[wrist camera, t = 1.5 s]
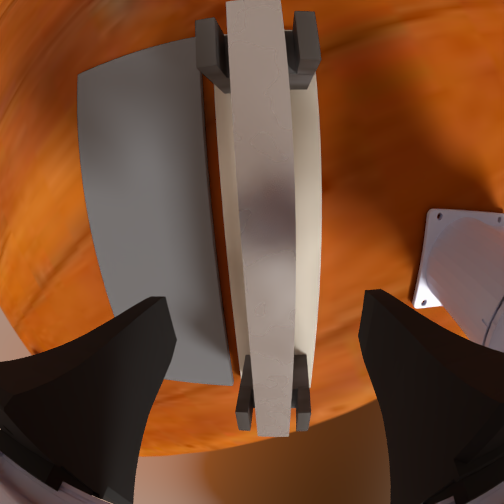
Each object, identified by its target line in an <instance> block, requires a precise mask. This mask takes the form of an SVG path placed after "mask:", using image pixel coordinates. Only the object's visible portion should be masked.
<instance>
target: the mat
mask: <svg viewBox="0 0 504 504" xmlns="http://www.w3.org/2000/svg"><path fill="white" fill-rule="evenodd" d="M77 119H78V139H79V153H80V163H81V172H82V180H83V188H84V194H85V201H86V207H87V212H88V218H89V223H90V228H91V233H92V238H93V242H94V246H95V251H96V255H97V259H98V263H99V267H100V270H101V274H102V278H103V281H104V285H105V288H106V292H107V295H108V298H109V301H110V304H111V307H112V310H113V313H114V316H115V317H116V316H118V315H119V314H121V313H123V312H124V311H126V310H127V309H129V308H131V307H132V306H134V305H136V304H137V303H139V302H141V301H143V300H144V299H146V298H149V297H151V296H163V297H166V300H167V304H168V308H169V312H170V316H171V320H172V324H173V327H174V331H175V334H176V338H177V342H176V346H175V350H174V353H173V357H172V360H171V363H170V365H169V368H168V370H167V372H166V375H165V377H164V379H168V380H175V381H184V382H192V383H202V384H214V385H228V386H233V382H234V380H233V373H232V367H231V360H230V354H229V347H228V340H227V333H226V326H225V319H224V311H223V304H222V296H221V288H220V280H219V271H218V263H217V254H216V245H215V236H214V226H213V216H212V206H211V195H210V184H209V172H208V160H207V147H206V133H205V118H204V101H203V81H202V73H201V72H200V71H199V70H198V69H197V68H196V40H195V37H192V38H187V39H182V40H178V41H173V42H169V43H165V44H161V45H158V46H154V47H151V48H147V49H144V50H140V51H137V52H134V53H131V54H128V55H125V56H122V57H120V58H117V59H114V60H111V61H109V62H106V63H104V64H101V65H99V66H96V67H94V68H92V69H89V70H87V71H85V72H83V73H80V74H78V82H77Z"/></svg>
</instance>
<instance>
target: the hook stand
mask: <svg viewBox="0 0 504 504" xmlns="http://www.w3.org/2000/svg"><path fill="white" fill-rule="evenodd" d="M284 33H285V42H286V52H287V63H288V74H289V86H290V99H291V114H292V131H293V150H294V175H295V211H296V302H295V339H294V363H293V382H292V399H291V408H296V431H308V427H309V421H310V416H311V405H310V390H309V388H310V386H311V378H312V369H313V360H314V350H315V340H316V329H317V316H318V302H319V286H320V265H321V232H322V175H321V142H320V122H319V107H318V93H317V82H316V70H317V68H318V66H319V64H320V61H321V53H320V45H319V37H318V30H317V24H316V17H315V12H310V11H295V12H294V22H293V30H284ZM195 40H196V68H197V69H198V70H199V71H200V72H201V73H202V74H204V75H205V76H206V77H207V78H208V79H209V80H210V81H211V82H212V83H213V84H214V95H215V112H216V128H217V143H218V157H219V170H220V183H221V195H222V206H223V218H224V229H225V240H226V250H227V260H228V270H229V280H230V289H231V298H232V307H233V316H234V325H235V333H236V342H237V350H238V358H239V366H240V374H241V383H240V389H239V395H238V400H237V406H236V411H235V413H236V418H237V423H238V428H239V430H247V431H250V428H251V421H252V413H253V408H255V401H254V390H253V379H252V368H251V356H250V345H249V333H248V322H247V310H246V298H245V285H244V273H243V260H242V247H241V234H240V221H239V207H238V193H237V179H236V165H235V150H234V135H233V119H232V103H231V87H230V70H229V52H228V34H225V35H224V34H223V32H222V30H221V28H220V27H219V25H218V23H217V21H216V19H215V18H214V17H213V18H207V19H201V20H196V21H195Z"/></svg>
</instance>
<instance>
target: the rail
mask: <svg viewBox="0 0 504 504" xmlns="http://www.w3.org/2000/svg"><path fill="white" fill-rule="evenodd" d="M226 14H227V33H228V52H229V70H230V87H231V103H232V119H233V135H234V150H235V165H236V179H237V193H238V207H239V221H240V234H241V247H242V260H243V273H244V285H245V298H246V310H247V322H248V333H249V345H250V356H251V368H252V379H253V390H254V401H255V411H256V422H257V432H258V436H270V437H282V436H283V437H285V436H286V437H288V436H289V427H290V414H291V399H292V382H293V363H294V339H295V302H296V211H295V175H294V150H293V131H292V114H291V99H290V86H289V74H288V63H287V52H286V42H285V33H284V24H283V15H282V7H281V0H236V1H228V2H226Z"/></svg>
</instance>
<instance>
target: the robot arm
mask: <svg viewBox="0 0 504 504" xmlns="http://www.w3.org/2000/svg"><path fill="white" fill-rule="evenodd" d="M439 213H440V217H439V218H438V219H437V215H438V214H439ZM498 218H499V219H498ZM424 300H425V301H424ZM422 301H424V302H423V303H422ZM412 304H413V306H414V307H415V308H417V309H418V308H427V307H435V306H444V308H445V309H446V310H447V311H448V313H449V314H450V315H451V316H452V318H453V319H454V320H455V321H456V323H457V324H458V325H459V326H460V328H461V329H462V330H463V332H464V333H465V334H466V336H467V337H468V338H469V340H467V339H465V338H463V337H461V336H459V335H457V334H455V333H453V332H451V331H449V330H447V329H445V328H443V327H441V326H440V325H438V324H436V323H435V322H433V321H431V320H429V319H428V318H426V317H425V316H423V315H421V314H420V313H418V312H417V311H415V310H414V309H412V308H410V307H409V306H407V305H406V304H404V303H403V302H401V301H400V300H398V299H397V298H395V297H394V296H392V295H390V294H389V293H387V292H385V291H383V290H381V289H376V290H365V295H364V303H363V310H362V316H361V322H360V328H359V334H358V337H359V342H360V347H361V351H362V356H363V359H364V362H365V365H366V368H367V371H368V373H369V376H370V379H371V382H372V385H373V387H374V390H375V393H376V396H377V399H378V402H379V405H380V408H381V412H382V415H383V421H384V426H385V431H386V437H387V445H388V453H389V461H390V462H389V463H390V477H391V478H390V479H391V504H504V213H495V212H483V211H469V210H454V209H435V208H432V209H430V210H429V211H428V212H427V218H426V227H425V235H424V243H423V250H422V256H421V262H420V268H419V273H418V278H417V283H416V288H415V292H414V297H413V301H412ZM176 342H177V338H176V334H175V331H174V327H173V324H172V320H171V316H170V312H169V308H168V304H167V300H166V297H163V296H151V297H149V298H146V299H144V300H143V301H141V302H139V303H137V304H136V305H134V306H132V307H131V308H129V309H127V310H126V311H124V312H123V313H121V314H119V315H118V316H116V317H114V318H113V319H111V320H110V321H108V322H106V323H104V324H103V325H101V326H99V327H97V328H96V329H94V330H92V331H90V332H89V333H87V334H85V335H83V336H81V337H79V338H77V339H75V340H73V341H70V342H68V343H66V344H64V345H61V346H59V347H56V348H53V349H50V350H48V351H45V352H42V353H39V354H36V355H32V356H29V357H25V358H20V359H16V360H11V361H4V362H0V429H1V430H0V504H110V503H107V502H105V501H102V500H100V499H103V500H106V501H108V502H111V503H113V504H133V495H134V484H135V475H136V468H137V462H138V456H139V451H140V446H141V442H142V437H143V433H144V430H145V426H146V422H147V419H148V415H149V413H150V410H151V407H152V405H153V402H154V400H155V398H156V395H157V393H158V391H159V389H160V386H161V384H162V382H163V379H164V377H165V375H166V372H167V370H168V368H169V365H170V363H171V360H172V357H173V353H174V350H175V346H176ZM92 495H93V496H95V497H93V496H92ZM96 497H97V498H96ZM98 498H100V499H98Z"/></svg>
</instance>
